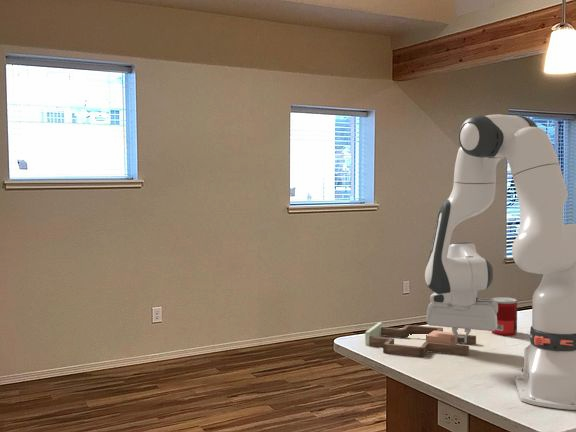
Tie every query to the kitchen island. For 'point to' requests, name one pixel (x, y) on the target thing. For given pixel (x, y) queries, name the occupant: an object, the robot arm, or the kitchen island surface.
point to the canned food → (506, 316)
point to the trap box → (389, 347)
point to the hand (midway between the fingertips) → (461, 342)
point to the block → (441, 337)
